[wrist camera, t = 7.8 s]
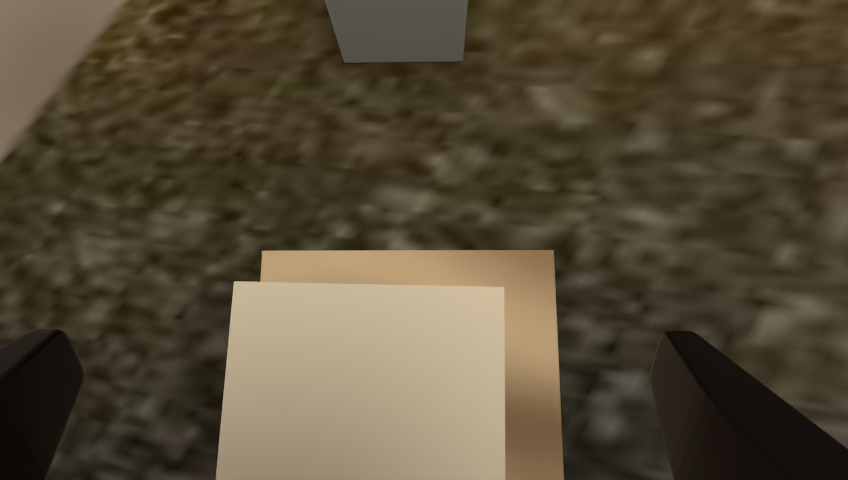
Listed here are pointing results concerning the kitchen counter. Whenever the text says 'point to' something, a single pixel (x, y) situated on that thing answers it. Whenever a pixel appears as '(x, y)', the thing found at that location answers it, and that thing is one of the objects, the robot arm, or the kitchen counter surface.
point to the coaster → (524, 328)
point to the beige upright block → (364, 383)
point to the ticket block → (399, 30)
